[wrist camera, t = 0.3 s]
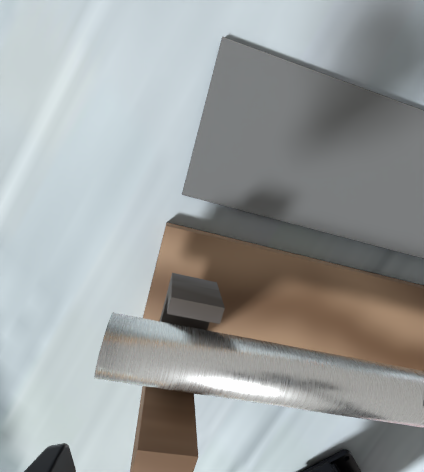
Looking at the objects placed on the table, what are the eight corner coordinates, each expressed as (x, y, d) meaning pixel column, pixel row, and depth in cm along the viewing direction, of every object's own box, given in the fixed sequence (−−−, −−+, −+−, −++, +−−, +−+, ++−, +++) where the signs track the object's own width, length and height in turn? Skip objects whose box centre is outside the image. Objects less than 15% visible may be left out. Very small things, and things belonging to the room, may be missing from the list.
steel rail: (559, 387, 19) (620, 427, 17) (535, 420, 20) (589, 463, 17) (116, 301, 14) (102, 337, 12) (106, 349, 15) (90, 394, 13)
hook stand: (429, 393, 26) (579, 534, 16) (136, 342, 21) (104, 493, 12) (478, 299, 24) (681, 395, 14) (166, 222, 20) (156, 287, 10)
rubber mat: (485, 274, 23) (492, 276, 23) (182, 193, 19) (182, 194, 19) (545, 158, 21) (553, 158, 21) (221, 39, 17) (222, 36, 17)
